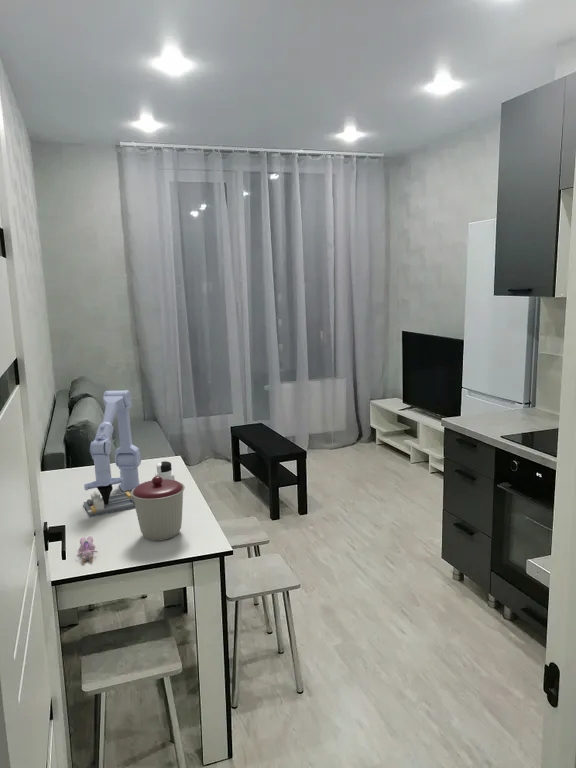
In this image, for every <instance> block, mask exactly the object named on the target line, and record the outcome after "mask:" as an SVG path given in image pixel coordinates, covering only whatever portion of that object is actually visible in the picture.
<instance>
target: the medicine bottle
mask: <svg viewBox="0 0 576 768" xmlns="http://www.w3.org/2000/svg"><path fill="white" fill-rule="evenodd" d="M155 476H160V477H161V478H162V479H170V480H175V479H176V478H175V474H174V471H173V470H172V463H171V461H167V460H166V461H160V462H158V463H156V472H155V473H154V477H155ZM175 481H176V480H175Z"/></svg>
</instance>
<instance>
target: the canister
mask: <svg viewBox="0 0 576 768" xmlns="http://www.w3.org/2000/svg"><path fill="white" fill-rule="evenodd" d="M139 484H140V485H138V486H137V487H135V488H134V489H133V490H130V493H131V496H132V497H133V498H134V503H135V508H134V509H135V511H136V516H137V521H138V526H139V529H140V532H141V535H142V536H143V537H144V538H145V539H147V540H149V541H165V540H168V539H171V538H173V537H175V536H176V537H177V535H178V534H179V532H180V531H181V528H182V522H183V521H182V520H183V505H184V504H183V500H184V499H183V498H184V490H185V488H186V486H185V485H184V483H182V482H179V481H178V480H170V479H162V478H161V477H160V476H155V475H154V476H153V478H152V479H151V480H148V481H144V482H143V483H139Z"/></svg>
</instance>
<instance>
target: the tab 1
mask: <svg viewBox="0 0 576 768" xmlns="http://www.w3.org/2000/svg"><path fill="white" fill-rule="evenodd" d="M97 498H99V499H100V498H101V494H100V492H99V491H97V492H96V491H93V492H91V493H90V500H91V501H92V503H93V504H94V500H95V499H97Z"/></svg>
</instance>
